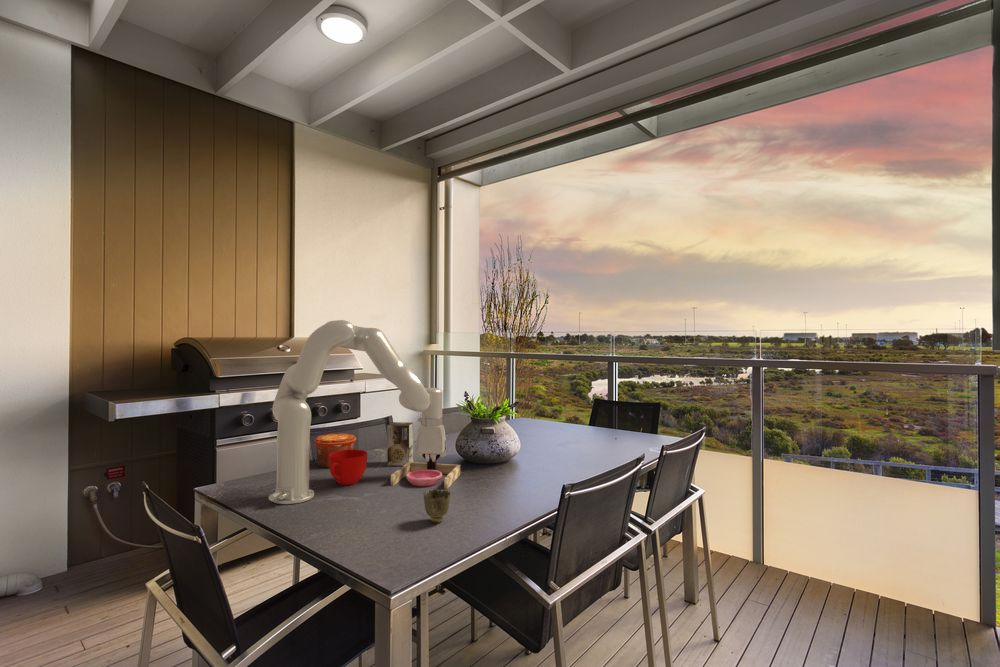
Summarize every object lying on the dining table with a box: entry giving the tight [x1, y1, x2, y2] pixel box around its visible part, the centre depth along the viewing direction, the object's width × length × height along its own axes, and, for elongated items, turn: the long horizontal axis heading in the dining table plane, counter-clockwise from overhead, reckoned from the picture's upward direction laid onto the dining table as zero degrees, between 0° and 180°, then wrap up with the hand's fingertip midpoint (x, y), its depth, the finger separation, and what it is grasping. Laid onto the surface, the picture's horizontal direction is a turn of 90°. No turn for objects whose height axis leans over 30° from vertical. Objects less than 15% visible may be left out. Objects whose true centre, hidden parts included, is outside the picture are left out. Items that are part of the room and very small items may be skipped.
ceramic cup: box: [329, 449, 368, 486], centre depth 176 cm, size 13×17×10 cm
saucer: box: [405, 470, 443, 487], centre depth 179 cm, size 12×12×3 cm
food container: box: [313, 433, 357, 469], centre depth 201 cm, size 16×16×11 cm
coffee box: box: [386, 421, 414, 467], centre depth 203 cm, size 9×6×16 cm
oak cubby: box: [390, 461, 461, 490], centre depth 181 cm, size 18×20×4 cm
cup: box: [423, 488, 451, 524], centre depth 142 cm, size 8×7×8 cm
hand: (431, 471), depth 187 cm, fingers closed
